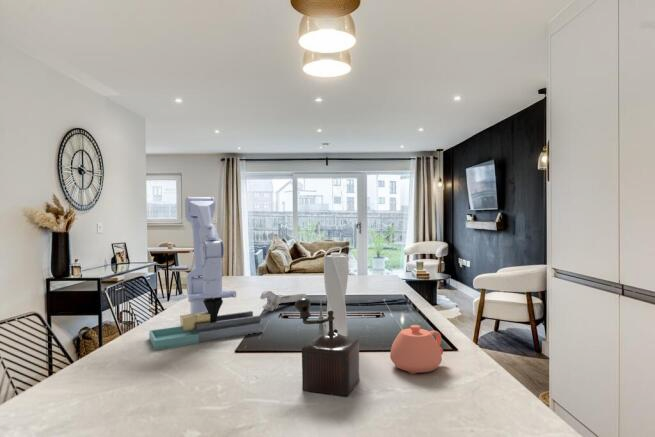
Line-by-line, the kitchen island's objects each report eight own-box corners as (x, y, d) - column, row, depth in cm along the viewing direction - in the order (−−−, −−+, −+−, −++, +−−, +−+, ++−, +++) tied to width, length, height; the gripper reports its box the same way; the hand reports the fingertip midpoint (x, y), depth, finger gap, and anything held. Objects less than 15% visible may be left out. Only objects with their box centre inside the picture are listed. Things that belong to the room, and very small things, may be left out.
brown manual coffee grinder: (361, 377, 96) (361, 299, 96) (347, 398, 85) (346, 310, 85) (299, 369, 101) (298, 295, 101) (279, 388, 91) (278, 305, 90)
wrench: (305, 306, 183) (263, 313, 157) (302, 306, 183) (259, 312, 158) (306, 287, 183) (264, 291, 157) (303, 287, 184) (260, 291, 158)
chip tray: (149, 338, 127) (149, 330, 127) (189, 332, 133) (189, 324, 133) (154, 349, 117) (154, 340, 117) (198, 342, 123) (198, 334, 123)
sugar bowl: (381, 362, 105) (381, 322, 105) (428, 355, 110) (428, 316, 110) (407, 380, 94) (407, 335, 94) (458, 371, 99) (458, 328, 99)
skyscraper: (327, 337, 128) (326, 246, 128) (352, 339, 126) (351, 246, 125) (317, 345, 120) (316, 248, 120) (344, 348, 118) (343, 249, 117)
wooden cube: (194, 326, 130) (193, 313, 130) (207, 324, 132) (206, 311, 132) (197, 329, 126) (196, 315, 126) (210, 326, 128) (210, 313, 128)
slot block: (189, 332, 133) (189, 317, 133) (250, 323, 143) (249, 309, 143) (198, 342, 123) (198, 326, 123) (262, 332, 133) (262, 317, 133)
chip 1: (181, 328, 128) (180, 315, 128) (194, 326, 130) (193, 313, 130) (183, 331, 124) (182, 318, 124) (197, 329, 126) (196, 316, 126)
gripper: (191, 283, 124) (192, 328, 124) (239, 278, 131) (239, 321, 131) (186, 279, 130) (187, 323, 130) (232, 276, 137) (232, 317, 137)
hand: (213, 322), depth 131 cm, fingers closed
